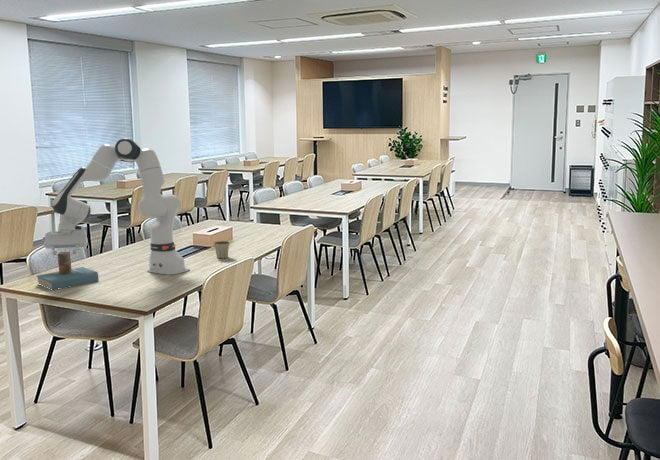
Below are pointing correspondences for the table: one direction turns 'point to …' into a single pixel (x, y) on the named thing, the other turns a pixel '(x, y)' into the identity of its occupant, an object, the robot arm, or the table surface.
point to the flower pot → (221, 249)
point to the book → (68, 278)
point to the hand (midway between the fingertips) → (64, 254)
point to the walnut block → (64, 263)
